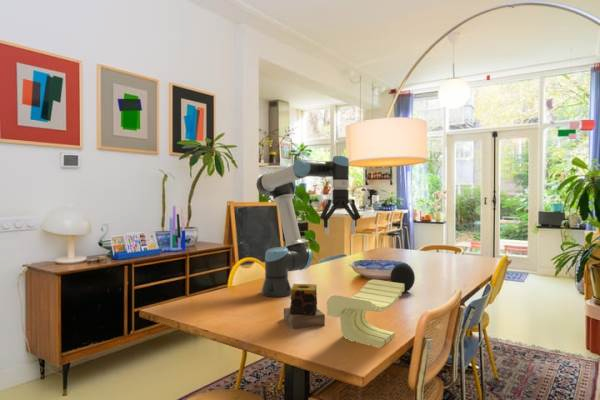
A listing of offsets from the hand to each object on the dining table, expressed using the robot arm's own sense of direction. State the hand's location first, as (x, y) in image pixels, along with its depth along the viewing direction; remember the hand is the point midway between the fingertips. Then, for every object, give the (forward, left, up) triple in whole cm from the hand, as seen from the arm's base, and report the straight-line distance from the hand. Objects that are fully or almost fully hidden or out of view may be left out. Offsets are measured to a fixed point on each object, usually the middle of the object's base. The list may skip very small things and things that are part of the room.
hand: (340, 234), depth 187 cm
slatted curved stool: (+43, -12, -33) cm, 55 cm away
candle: (+19, -26, -28) cm, 43 cm away
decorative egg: (-7, +41, -33) cm, 53 cm away
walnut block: (+19, -27, -33) cm, 47 cm away
